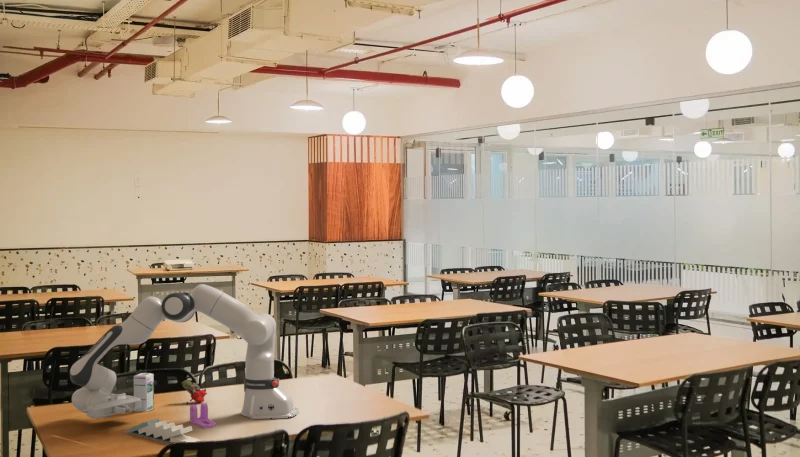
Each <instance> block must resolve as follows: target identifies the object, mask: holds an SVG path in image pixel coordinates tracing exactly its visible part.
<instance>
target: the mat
mask: <svg viewBox="0 0 800 457" xmlns="http://www.w3.org/2000/svg"><path fill="white" fill-rule="evenodd" d="M123 433H125V434H129V435H133V436H135V437H136V436H137V437H140V438H145V439H148V440H153V441H156V442H159V443H164V444H173V443H172V442H170V438H169V439H165V440H163V438H162V436H160V437H157V438H154V435H149V436H146V432H145V433H142V434H139V432H138V431H135V432H131V429H127V430H124V431H123Z"/></svg>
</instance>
